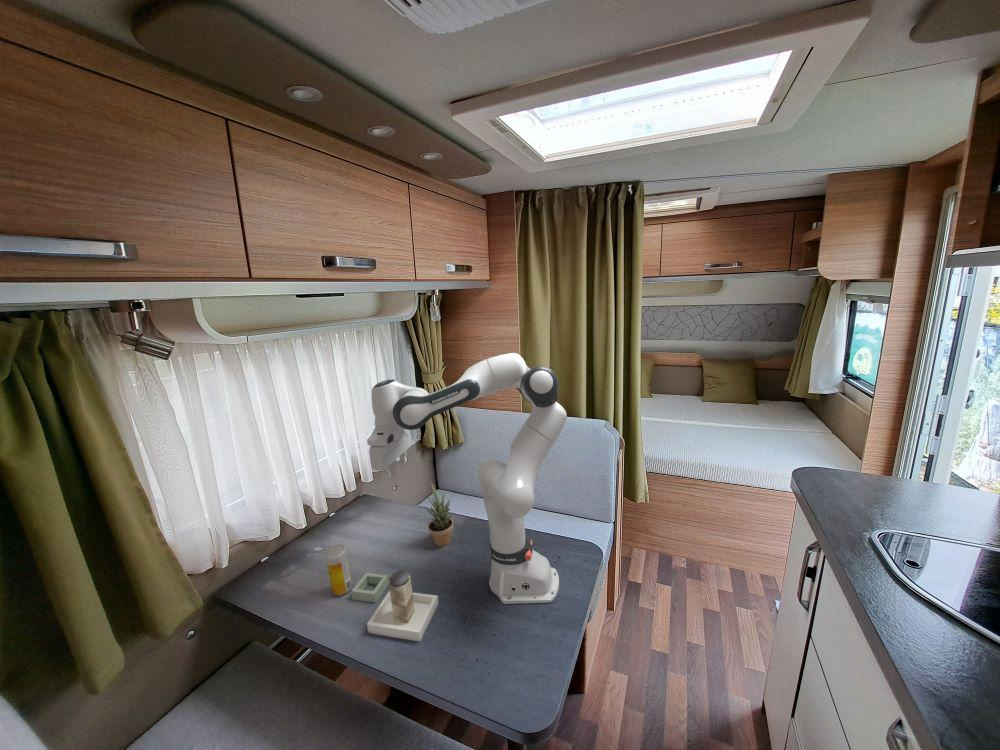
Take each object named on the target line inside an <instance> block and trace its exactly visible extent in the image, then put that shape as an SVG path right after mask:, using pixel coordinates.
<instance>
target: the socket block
mask: <svg viewBox="0 0 1000 750" xmlns="http://www.w3.org/2000/svg"><path fill="white" fill-rule="evenodd" d="M389 584H390V577H389V575H388V574H380V573H379V574H378V573H370V572H365V574H364V575H363V576H362V577H361V578H360V580H359V581H358V582H357V583H356V585H355V586H354V587H353V589H352V590H350V591H351V597H352V600H354V601H355V600H356V601H362V602H370V603H375V604H376V603H377V602H378V600H379V599H380V598H381V596H382V595H383V593H384V592H385V591H386V589H387V587H389ZM368 585H376V586H375V588H374V589H373V590H368V589H366V587H367V586H368Z"/></svg>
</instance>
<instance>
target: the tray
mask: <svg viewBox="0 0 1000 750" xmlns="http://www.w3.org/2000/svg"><path fill="white" fill-rule="evenodd" d="M412 593H413V600H414V608H415V611H414V613H413V615H412V617H411V619H410V621H409V622H408V623H405V622H398V621H394V616H393V609H392V603H391V596H390V590H388V592H387V593H386V595H385V596H384V598H382V599H383V600H382V601H381V602H380V604H379V606H378V607H377V608H376V610H375V611H374V612H373V615H372V616H371V618H370V619H369V621H368V622H367V623H366V627H367V633H368V634H371V635H377V636H384V637H389V638H395V639H396V638H397V639H401V640H406V641H407V640H408V641H416V642H422V640H423V637H424V635H425V634H426V632H427V629H428V627H429V624H430V622H432V621H431V620H432V619H433V617H434V614H435V613H436V610H437V609H438V606H439V605H440V604H439V596H438V595H436V594H435V595H434V594H427V593H421V592H413V591H412Z"/></svg>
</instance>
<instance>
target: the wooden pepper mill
mask: <svg viewBox="0 0 1000 750" xmlns="http://www.w3.org/2000/svg"><path fill="white" fill-rule="evenodd" d="M388 589H389V591H390V596H391V603H392V609H393V616H394V621H398V622H405V623H408V622H409V621H410V619H411V617H412V615H413V613H414V611H415V608H414V600H413V593H414V592H413V587H412V581H411V575H409V572H408V571H407V570H404V569H403V570H402V569H401V570H397V571H395V572H393V573H392V574H391V575H390V577H389V584H388ZM412 592H413V593H412Z"/></svg>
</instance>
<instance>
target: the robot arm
mask: <svg viewBox="0 0 1000 750" xmlns="http://www.w3.org/2000/svg"><path fill="white" fill-rule="evenodd" d="M511 388H515V389H517V391H518V392H519V394H521V396H522V397H523V398H524V400H525V401H527V402H528V403H530V404H531V405H532V409H531V411H530V415H528V417H527V418H526V420H525V422H524V423H523V425H522V426H521V428H520V429H519V431H518V432H517V434H516V435H515V436H514V438H513V439H512V442H511V443H510V447H509V448H510V453H509V457H508V462H507V463H505V462H504V461H501V460H498V459H494V458H492V459H488V460H485V461H484V462H483V463H482V464H481V465H480V467H479V468H478V471H477V479H478V483H479V485H480V489H481V494H482V499H483V504H484V508H485V511H486V516H487V520H488V521H487V522H488V526H489V537H490V542H489V557H490V560H491V565H490V567H491V568H490V576H489V579H488V584H489V588H490V590H491V591H492V592H493V593H494V594H495V595H496V596H497V597H498V599H499V600H500V602H501V603H502V604H504V605H508V604H510V605H511V604H512V605H513V604H514V605H516V604H517V605H518V604H544V603H545V604H546V603H547V604H548V603H551V602H553V601H554V600H555V599H556V597H557V595H558V593H559V589H560V577H559V573H558V571H557V569H556V568H554V567H552V566H551V565H550V562H549V560H548V558H547V557H545V556H544V555H542V554H540V553H539V552H538V551H535V550H534V549H533V539H530V542H529V541H528V540H527V538H526V529H525V527H526V526H525V524H526V523H525V518H524V517H525V516H527V514H529V513H530V512H531V510H532V509H533V507H534V504H535V484H536V481H537V477H538V473H539V471H540V468H541V467H542V466H541V465H542V464H543V462H544V460H545V459H546V457H547V455H548V453H549V452H550V451H551V449H552V448H553V446H554V445H555V443H556V441H557V439H558V438H559V436H560V434H561V432H562V430H563V428H564V425H565V423H566V420H567V418H568V417H567V412H566V409H565V408H564V407H563V406H562V405H561V404H560V403H559V402H558V397H559V395H558V394H559V379H558V376H557V374H556V372H555V371H554V370H553V369H551V368H550V367H548V366H544V365H537V366H533V367H531V368H530V367H528V365H527V364H526V361H525V359H524V358H523V357H522V356H521V355H520V354H518V353H517V352H510V353H504V354H500V355H496V356H492V357H489V358H487V359H486V358H485V359H483V360H481V361H479V362H476V363H475V364H473V365H472V366H470V367H468V368H466V370H465V371H464V373H463V374H462V375H461V376H460V378H459V379H458V380H456V381H455V382H454V383H453V384H450V385H449V386H446V387H444V388H441V389H439V390H437V391H434V392H432V393H429V392H428V390H426V389H425V388H422V387H417V386H416V387H415V386H411V385H407V384H403V383H401V382H399V381H397V380H396V379H387V380H382V381H380V382H377V383H376V384H374V386H373V387H372V389H371V409H372V412H373V415H374V428H373V430H372V432H371V434H370V435H369V436H368V437H367V440H366V442H367V443H366V444H367V446H370V447H369V450H368V453H369V461H370V466H371V469H372V470H374V471H381V472H382V473H383V475H384V476H383V477H384V479H387V480H389V479H391V478H392V476H393V475H392V471H390V465H392V463H394V462H395V461H396V460H397V459H398V458H399V459H398V465H399V466H404V465H406V462H407V461H406V459H407V458H406V457H407V454H408V453H407V451H408V450H410V448H411V447H412V444H413V441H412V435H411V431H414V430H418V429H420V428H421V427H423V426H424V425H425V424H426V423H427V422H428V421H430V419H432V418H433V417H435V416H437V415H439V414H442V413H445V412H446V411H449V410H451V409H453V408H456V407H458V406H461V405H463V404H465V403H467V402H471V401H474V400H477V399H479V398H483V397H486V396H487V397H488V396H490V395H493V394H496V393H499V392H501V391H504V390H506V389H511Z"/></svg>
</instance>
